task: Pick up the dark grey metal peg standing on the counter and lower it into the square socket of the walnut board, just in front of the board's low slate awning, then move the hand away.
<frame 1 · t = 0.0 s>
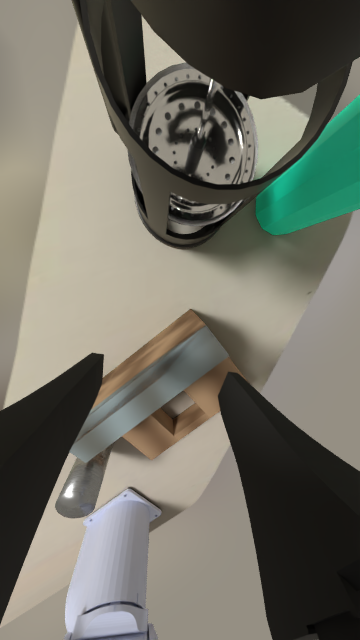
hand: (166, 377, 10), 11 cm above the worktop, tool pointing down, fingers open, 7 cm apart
candle: (280, 206, 18), on the worktop
peg: (100, 437, 23), on the worktop
french press: (178, 195, 17), on the worktop
socket board: (169, 381, 22), on the worktop
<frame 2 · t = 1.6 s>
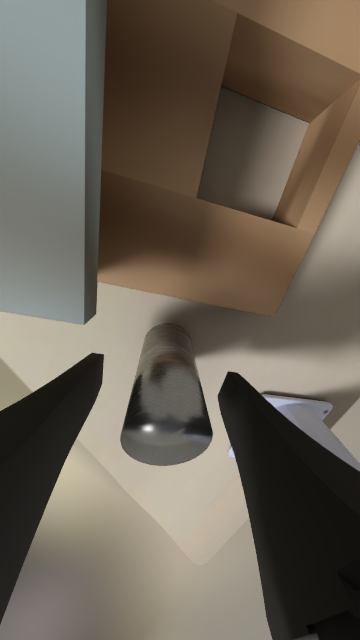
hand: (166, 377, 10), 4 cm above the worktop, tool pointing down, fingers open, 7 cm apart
peg: (167, 344, 13), on the worktop
socket board: (206, 127, 8), on the worktop
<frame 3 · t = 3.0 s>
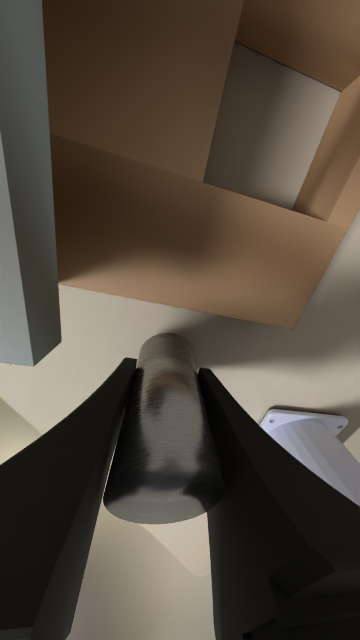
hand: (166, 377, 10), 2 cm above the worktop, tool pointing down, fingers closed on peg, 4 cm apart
peg: (166, 356, 11), on the worktop, touching gripper
socket board: (214, 96, 7), on the worktop
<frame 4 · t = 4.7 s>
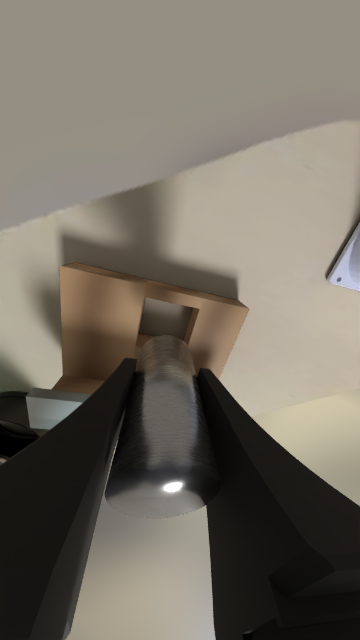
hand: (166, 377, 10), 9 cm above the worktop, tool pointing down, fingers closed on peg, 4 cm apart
peg: (165, 357, 12), point 7 cm above the worktop, touching gripper
french press: (28, 418, 22), on the worktop
socket board: (152, 336, 18), on the worktop
when the fingers open (3 cm above the worktop, at t = 6.4 s): peg drops 1 cm, resting in socket board.
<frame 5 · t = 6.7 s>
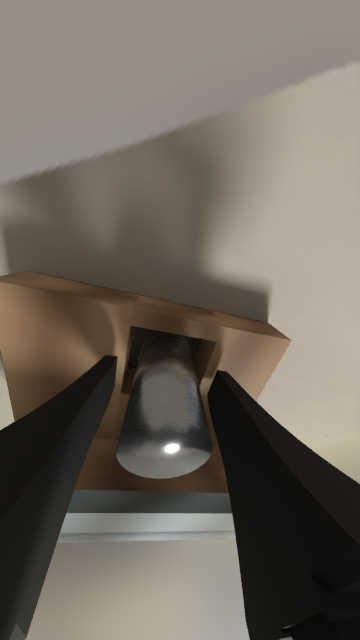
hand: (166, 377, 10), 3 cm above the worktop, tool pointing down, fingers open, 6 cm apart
peg: (166, 348, 13), resting in socket board
socket board: (147, 370, 13), on the worktop
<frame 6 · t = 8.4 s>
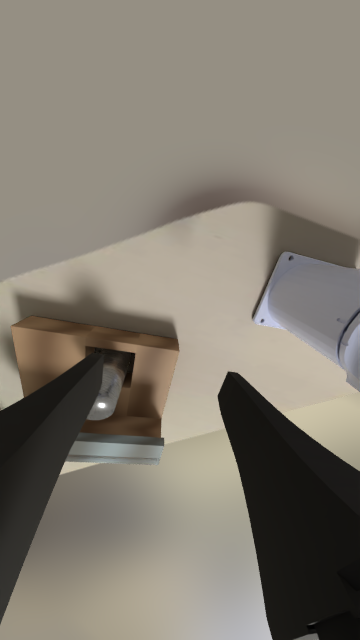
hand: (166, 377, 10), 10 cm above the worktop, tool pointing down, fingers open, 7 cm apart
peg: (116, 356, 20), resting in socket board
socket board: (106, 369, 21), on the worktop
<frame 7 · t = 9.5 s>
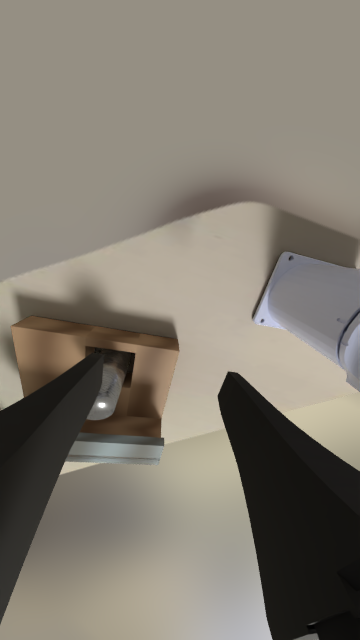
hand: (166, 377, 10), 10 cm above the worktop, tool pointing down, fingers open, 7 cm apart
peg: (116, 356, 20), resting in socket board
socket board: (106, 369, 21), on the worktop
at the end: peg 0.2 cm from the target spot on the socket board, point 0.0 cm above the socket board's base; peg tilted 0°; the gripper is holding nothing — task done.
